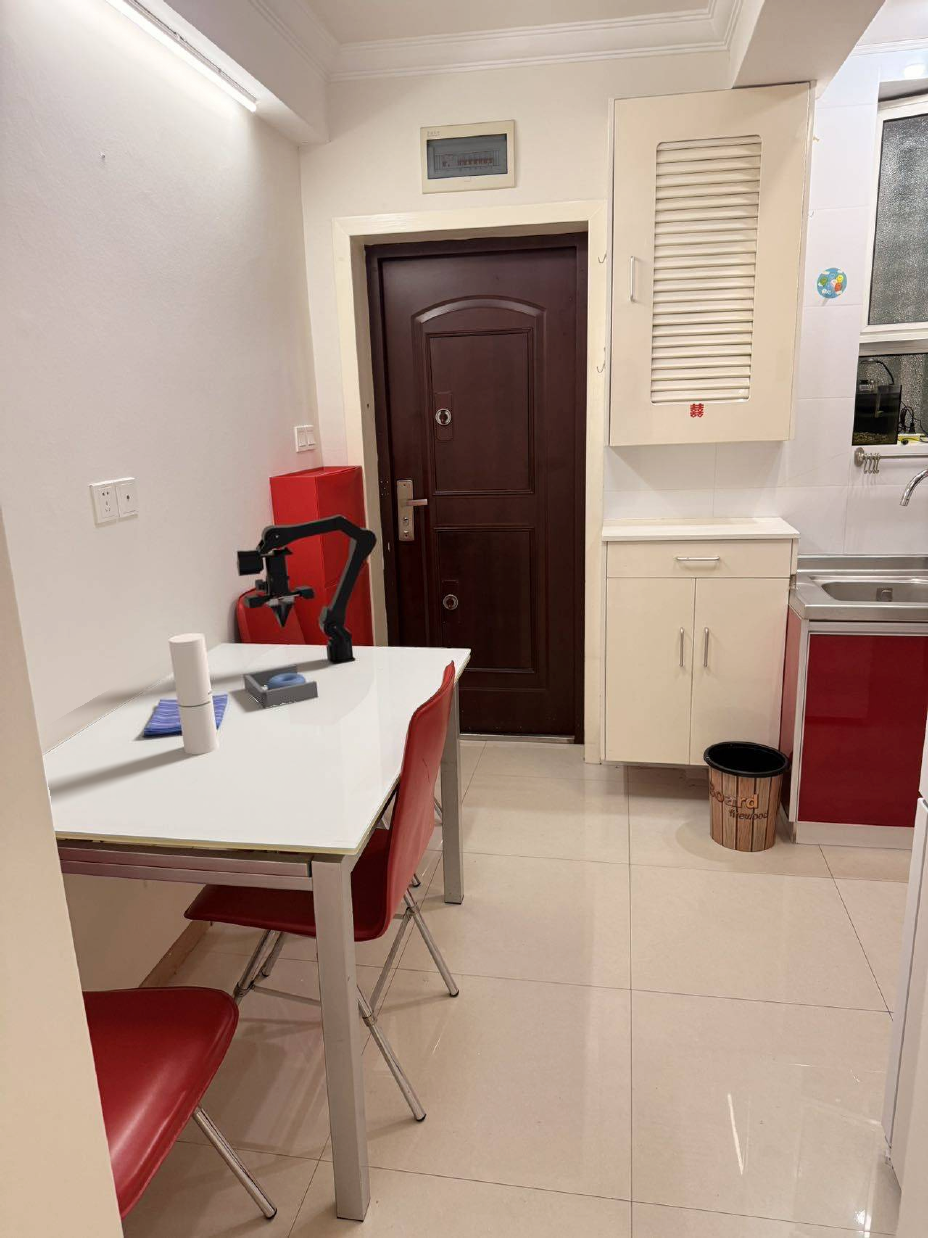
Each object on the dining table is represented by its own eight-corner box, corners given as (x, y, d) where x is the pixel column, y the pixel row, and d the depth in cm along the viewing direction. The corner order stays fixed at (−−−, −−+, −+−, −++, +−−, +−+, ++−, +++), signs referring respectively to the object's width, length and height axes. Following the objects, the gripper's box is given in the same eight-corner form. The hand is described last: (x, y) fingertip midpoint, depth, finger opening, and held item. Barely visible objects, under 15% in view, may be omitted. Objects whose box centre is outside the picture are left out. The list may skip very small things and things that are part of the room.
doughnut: (266, 686, 223) (265, 670, 221) (305, 683, 225) (304, 667, 224) (268, 702, 214) (267, 685, 212) (308, 698, 216) (307, 682, 215)
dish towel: (141, 741, 191) (139, 730, 191) (159, 706, 214) (157, 696, 213) (219, 733, 194) (218, 721, 193) (229, 699, 217) (227, 689, 216)
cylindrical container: (223, 741, 187) (209, 632, 181) (211, 754, 181) (195, 642, 174) (192, 741, 188) (177, 633, 182) (179, 754, 181) (162, 642, 175)
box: (296, 678, 229) (295, 664, 228) (318, 697, 213) (316, 682, 212) (245, 688, 223) (243, 674, 222) (263, 708, 207) (261, 693, 206)
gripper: (298, 563, 243) (304, 616, 247) (234, 572, 234) (241, 627, 238) (313, 568, 234) (318, 623, 237) (246, 578, 224) (253, 635, 228)
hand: (282, 626), depth 235 cm, fingers closed
